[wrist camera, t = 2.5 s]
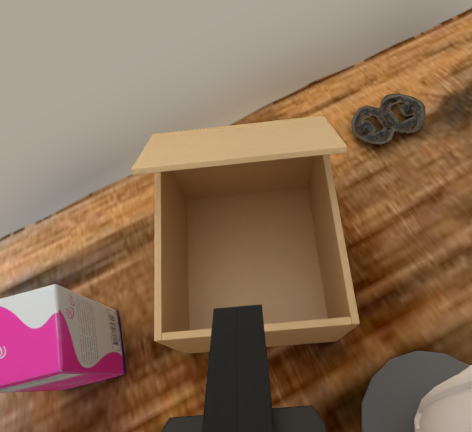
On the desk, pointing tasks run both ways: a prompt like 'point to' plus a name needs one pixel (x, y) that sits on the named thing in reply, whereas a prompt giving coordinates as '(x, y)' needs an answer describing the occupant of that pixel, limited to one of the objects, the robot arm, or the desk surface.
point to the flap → (239, 145)
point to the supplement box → (57, 341)
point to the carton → (251, 252)
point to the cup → (419, 395)
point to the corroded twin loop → (388, 119)
